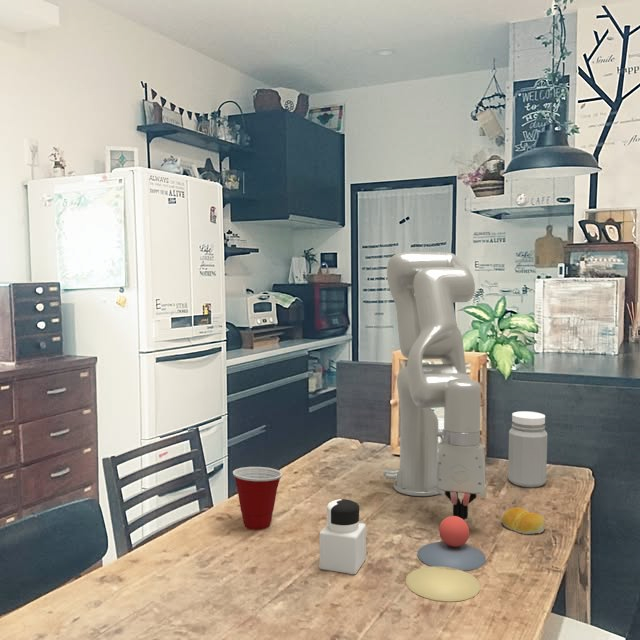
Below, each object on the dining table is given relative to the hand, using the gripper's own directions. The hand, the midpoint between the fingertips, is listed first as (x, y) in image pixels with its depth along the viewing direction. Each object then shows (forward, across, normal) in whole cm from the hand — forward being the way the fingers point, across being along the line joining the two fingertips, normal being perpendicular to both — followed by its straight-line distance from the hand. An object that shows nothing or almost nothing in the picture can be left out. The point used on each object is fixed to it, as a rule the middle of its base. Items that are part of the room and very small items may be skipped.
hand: (460, 521), depth 145 cm
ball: (-2, 0, -10) cm, 10 cm away
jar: (+2, +13, +37) cm, 39 cm away
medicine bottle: (+2, -19, -25) cm, 31 cm away
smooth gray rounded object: (+2, 0, -15) cm, 15 cm away
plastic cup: (+2, -42, -12) cm, 44 cm away
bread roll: (+2, +13, +5) cm, 14 cm away
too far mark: (+2, 0, -27) cm, 27 cm away
